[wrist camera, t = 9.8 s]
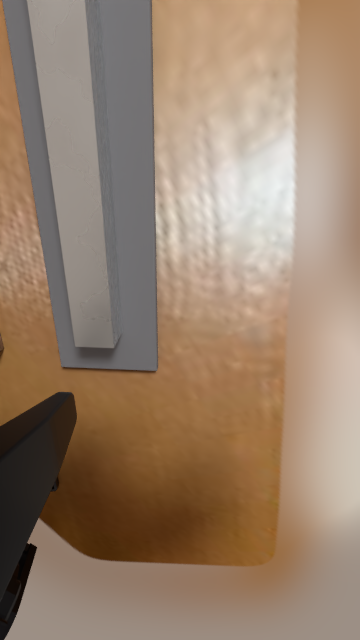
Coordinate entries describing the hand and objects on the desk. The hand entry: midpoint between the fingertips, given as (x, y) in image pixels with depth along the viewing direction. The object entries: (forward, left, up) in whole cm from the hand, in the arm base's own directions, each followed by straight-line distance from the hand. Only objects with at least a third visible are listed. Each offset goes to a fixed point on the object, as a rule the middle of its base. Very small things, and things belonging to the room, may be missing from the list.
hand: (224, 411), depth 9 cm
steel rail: (+8, +7, -11) cm, 16 cm away
